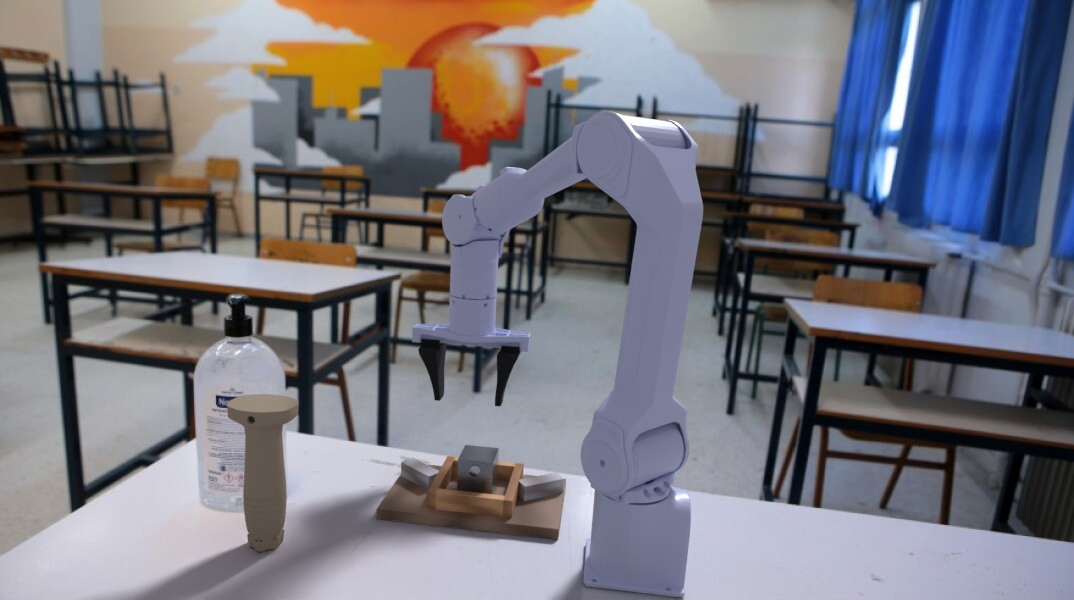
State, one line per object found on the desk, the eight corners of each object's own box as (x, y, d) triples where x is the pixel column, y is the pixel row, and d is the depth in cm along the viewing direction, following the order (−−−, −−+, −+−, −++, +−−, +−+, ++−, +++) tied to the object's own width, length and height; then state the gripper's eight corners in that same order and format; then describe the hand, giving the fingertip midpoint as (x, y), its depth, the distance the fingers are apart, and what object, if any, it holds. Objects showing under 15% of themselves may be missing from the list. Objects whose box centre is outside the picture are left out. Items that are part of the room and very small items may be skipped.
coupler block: (497, 485, 81) (499, 446, 80) (490, 505, 76) (492, 464, 75) (464, 482, 81) (465, 443, 80) (455, 501, 76) (457, 460, 75)
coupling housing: (565, 487, 84) (567, 463, 83) (558, 539, 72) (560, 511, 72) (408, 471, 86) (409, 447, 85) (376, 518, 74) (376, 492, 73)
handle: (286, 561, 65) (284, 414, 63) (222, 554, 66) (217, 408, 63) (307, 534, 70) (306, 397, 67) (247, 528, 71) (244, 392, 68)
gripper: (535, 293, 86) (529, 395, 88) (424, 285, 87) (421, 385, 90) (529, 304, 79) (522, 414, 82) (408, 295, 80) (405, 403, 83)
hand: (468, 400), depth 85 cm, fingers open, 7 cm apart
